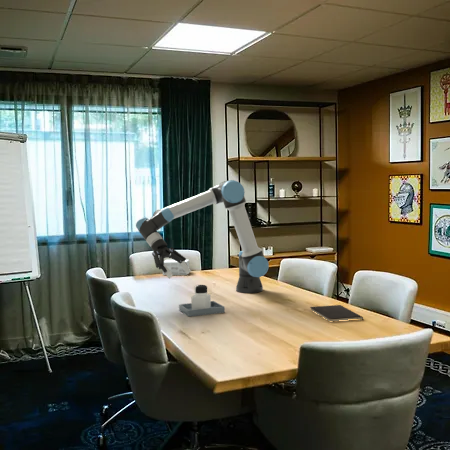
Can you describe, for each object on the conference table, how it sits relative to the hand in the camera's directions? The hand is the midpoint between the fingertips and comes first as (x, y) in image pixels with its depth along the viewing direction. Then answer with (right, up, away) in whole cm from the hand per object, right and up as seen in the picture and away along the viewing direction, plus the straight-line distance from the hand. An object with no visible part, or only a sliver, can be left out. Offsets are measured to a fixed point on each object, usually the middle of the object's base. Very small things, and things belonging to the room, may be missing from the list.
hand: (180, 274), depth 258 cm
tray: (+11, -17, -9) cm, 22 cm away
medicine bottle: (+11, -16, -9) cm, 22 cm away
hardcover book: (+73, -18, -20) cm, 77 cm away
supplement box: (-11, -10, +102) cm, 103 cm away
